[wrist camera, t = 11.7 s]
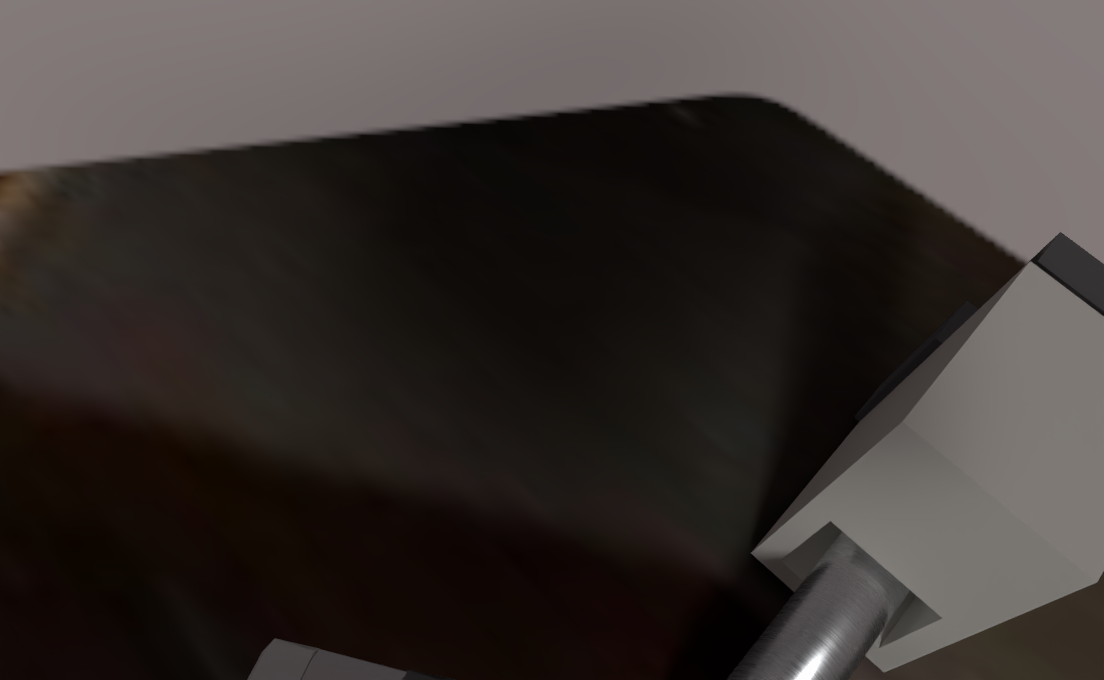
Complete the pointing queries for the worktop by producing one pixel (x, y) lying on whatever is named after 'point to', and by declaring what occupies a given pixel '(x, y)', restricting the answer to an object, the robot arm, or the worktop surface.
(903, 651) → the notched block
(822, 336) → the worktop surface
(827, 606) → the pipe
